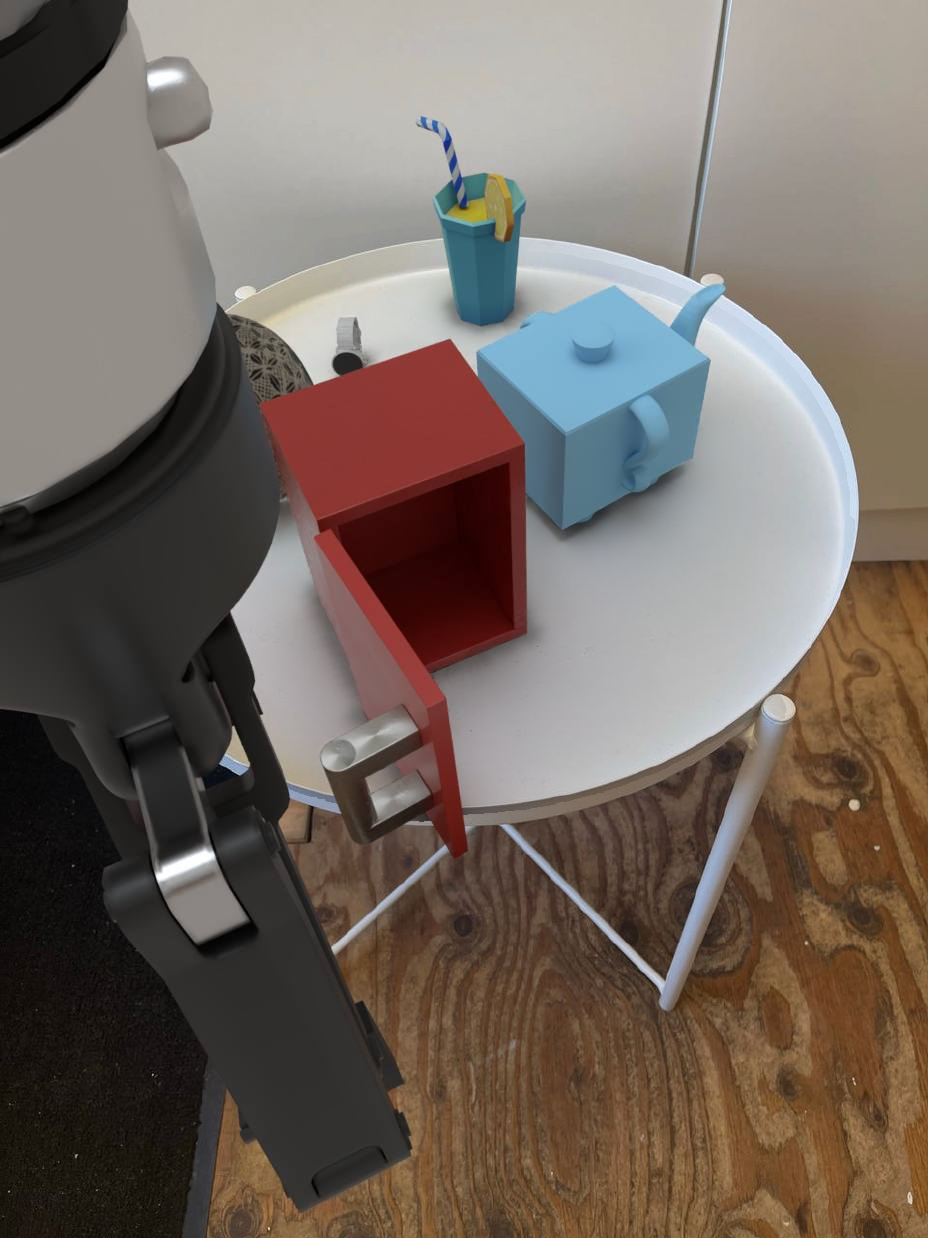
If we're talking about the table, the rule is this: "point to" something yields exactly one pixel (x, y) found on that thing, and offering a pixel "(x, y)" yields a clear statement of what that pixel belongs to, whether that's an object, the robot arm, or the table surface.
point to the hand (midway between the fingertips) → (283, 884)
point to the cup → (479, 236)
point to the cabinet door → (388, 719)
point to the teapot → (600, 397)
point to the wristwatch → (348, 347)
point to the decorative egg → (269, 366)
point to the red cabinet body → (413, 496)
